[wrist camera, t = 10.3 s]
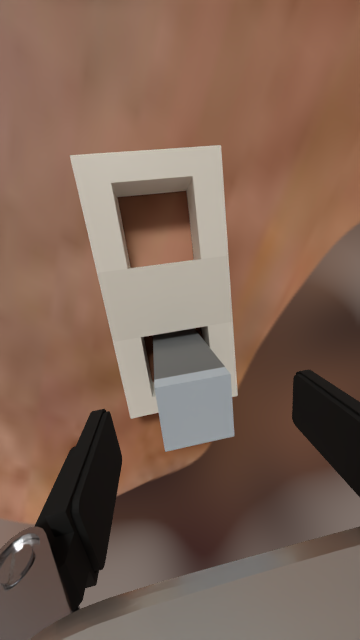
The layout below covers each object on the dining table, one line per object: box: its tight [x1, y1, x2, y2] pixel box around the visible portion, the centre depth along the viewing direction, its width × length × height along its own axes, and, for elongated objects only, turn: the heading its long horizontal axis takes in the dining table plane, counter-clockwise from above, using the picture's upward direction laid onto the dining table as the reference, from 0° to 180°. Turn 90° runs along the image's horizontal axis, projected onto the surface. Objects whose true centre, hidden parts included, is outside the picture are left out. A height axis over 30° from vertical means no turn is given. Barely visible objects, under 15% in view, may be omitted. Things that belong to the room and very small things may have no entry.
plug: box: [153, 328, 234, 452], centre depth 15 cm, size 4×4×9 cm
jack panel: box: [70, 145, 238, 418], centre depth 16 cm, size 10×20×2 cm, turn 7°
